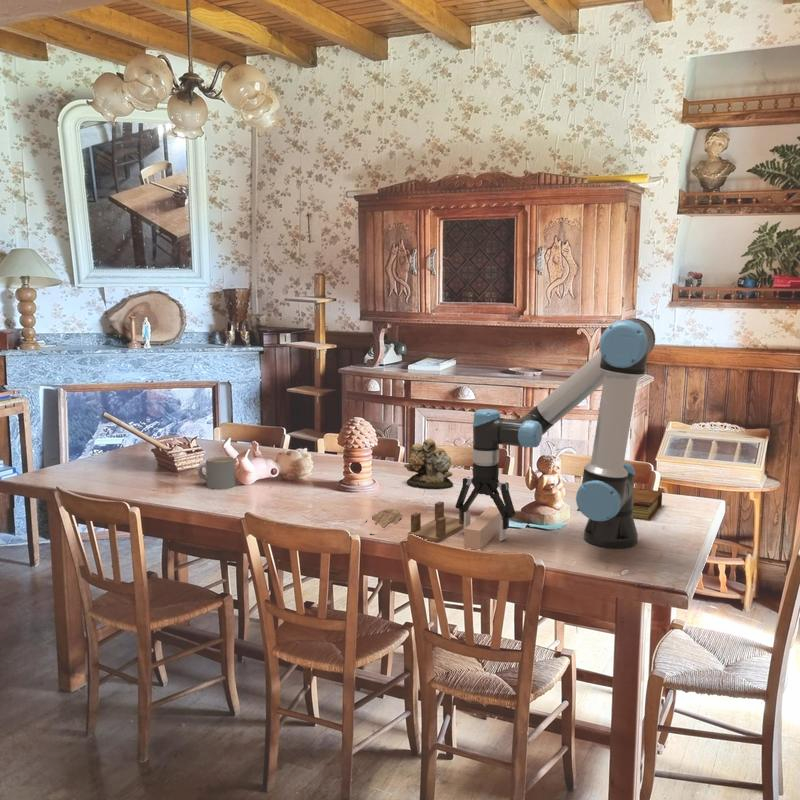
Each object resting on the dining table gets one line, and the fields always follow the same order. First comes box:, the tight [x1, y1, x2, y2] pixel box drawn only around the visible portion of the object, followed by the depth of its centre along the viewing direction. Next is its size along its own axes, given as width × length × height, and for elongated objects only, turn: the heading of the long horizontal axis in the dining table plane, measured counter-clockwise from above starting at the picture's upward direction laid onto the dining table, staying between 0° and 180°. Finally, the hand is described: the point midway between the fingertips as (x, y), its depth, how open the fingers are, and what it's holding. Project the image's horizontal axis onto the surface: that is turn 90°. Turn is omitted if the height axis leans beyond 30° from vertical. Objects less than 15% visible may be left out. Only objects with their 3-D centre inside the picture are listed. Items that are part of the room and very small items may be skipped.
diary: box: [576, 487, 663, 522], centre depth 274 cm, size 23×19×6 cm
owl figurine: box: [403, 438, 454, 490], centre depth 302 cm, size 18×12×17 cm, turn 75°
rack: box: [407, 501, 469, 543], centre depth 251 cm, size 10×20×6 cm, turn 147°
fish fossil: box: [372, 508, 402, 529], centre depth 259 cm, size 26×10×1 cm, turn 169°
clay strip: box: [463, 506, 502, 550], centre depth 245 cm, size 4×24×6 cm, turn 157°
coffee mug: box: [197, 455, 236, 490], centre depth 302 cm, size 13×10×10 cm
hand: (484, 536), depth 245 cm, fingers open, 11 cm apart
